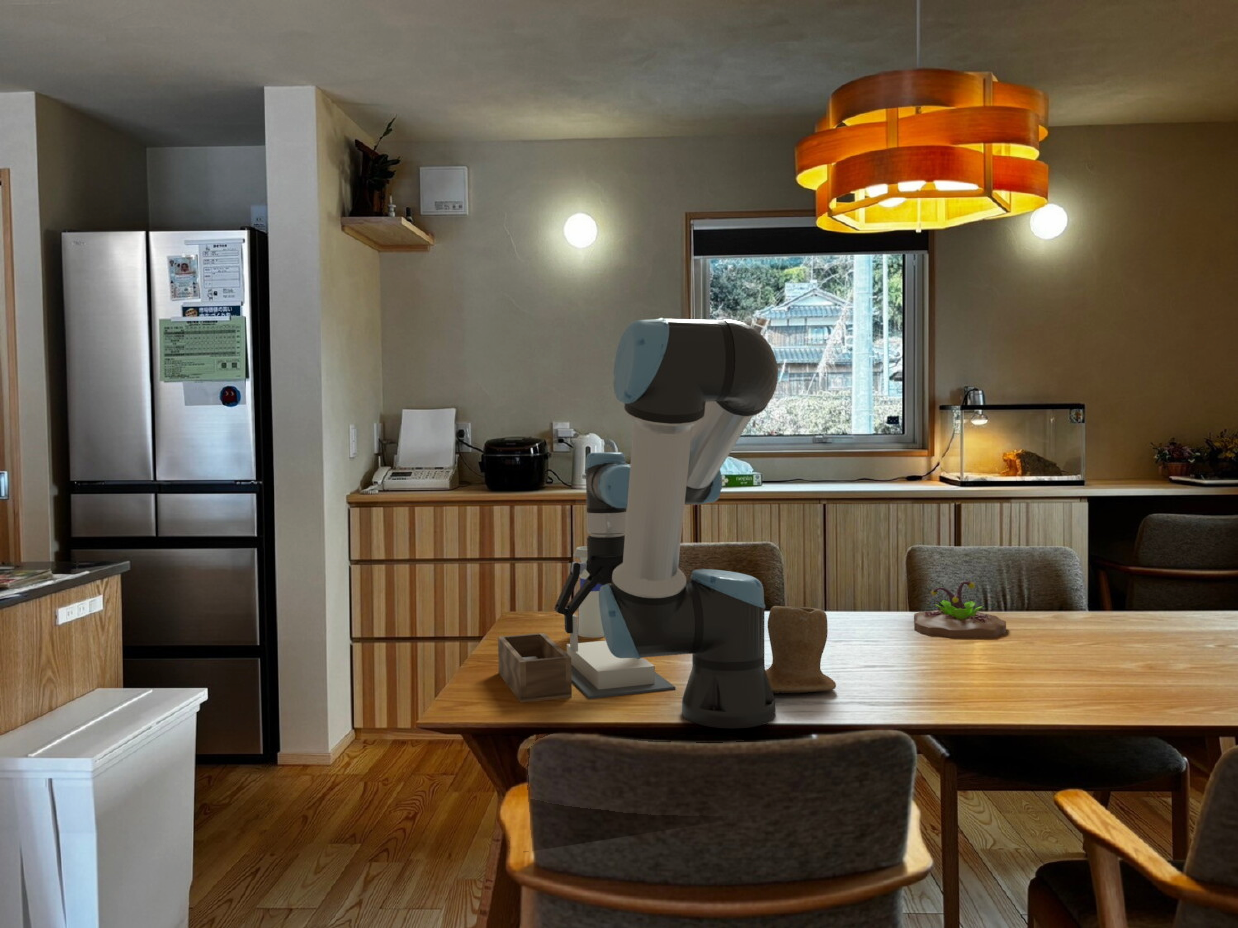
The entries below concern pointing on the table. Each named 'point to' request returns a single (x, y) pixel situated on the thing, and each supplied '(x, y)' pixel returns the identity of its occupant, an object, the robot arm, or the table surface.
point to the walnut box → (534, 667)
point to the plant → (958, 619)
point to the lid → (610, 667)
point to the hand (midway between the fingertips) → (609, 647)
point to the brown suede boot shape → (797, 650)
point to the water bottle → (588, 604)
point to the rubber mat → (593, 692)
